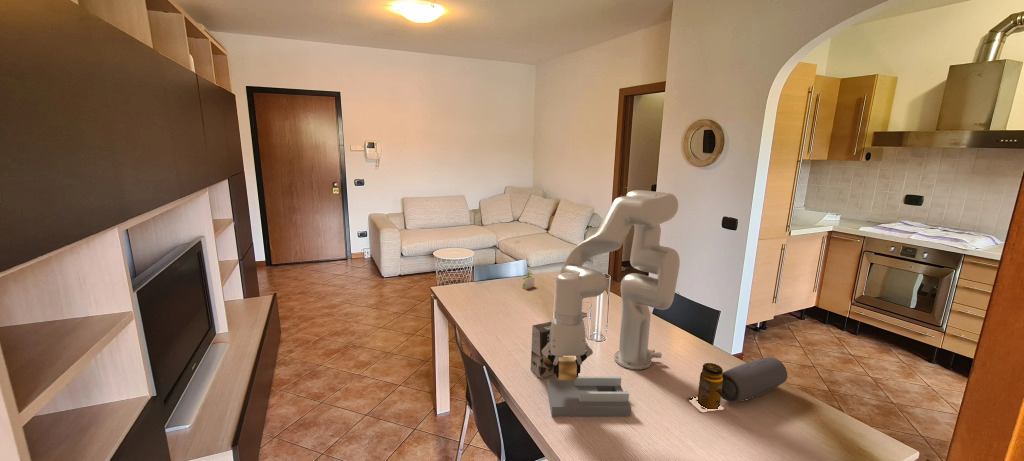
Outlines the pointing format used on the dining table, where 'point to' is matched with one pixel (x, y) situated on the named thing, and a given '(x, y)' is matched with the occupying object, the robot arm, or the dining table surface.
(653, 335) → the dining table surface
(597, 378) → the trap channel
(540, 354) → the cookie box
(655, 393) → the dining table surface
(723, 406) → the dining table surface
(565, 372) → the block
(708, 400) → the condiment
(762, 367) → the bluetooth speaker
